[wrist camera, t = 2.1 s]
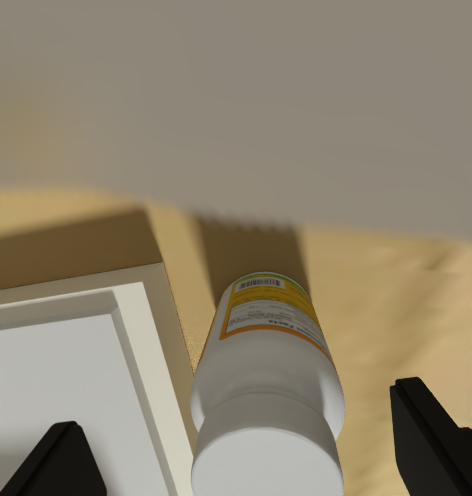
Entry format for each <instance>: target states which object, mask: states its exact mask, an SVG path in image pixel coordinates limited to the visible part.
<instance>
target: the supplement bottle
mask: <svg viewBox="0 0 472 496" xmlns="http://www.w3.org/2000/svg"><path fill="white" fill-rule="evenodd" d="M190 407H191V414H192V419H193V421H194V424H195V427H196V429H197V431H198V438H197V444H196V449H195V454H194V458H193V463H192V468H191V487H192V491H193V494H194V496H343V492H344V482H343V475H342V470H341V466H340V461H339V457H338V453H337V448H336V443H335V441H336V439H337V438H338V436H339V433H340V431H341V428H342V426H343V422H344V416H345V400H344V394H343V390H342V386H341V383H340V380H339V377H338V374H337V371H336V368H335V365H334V363H333V360H332V357H331V355H330V352H329V349H328V346H327V344H326V341H325V338H324V335H323V333H322V330H321V327H320V324H319V321H318V318H317V316H316V313H315V310H314V307H313V305H312V302H311V300H310V298H309V296H308V295H307V293H306V292H305V291H304V289H303V288H302V287H301V286H300V285H299V284H298V283H296V282H295V281H294V280H292V279H291V278H289V277H287V276H284V275H282V274H278V273H274V272H255V273H250V274H247V275H245V276H242V277H241V278H239V279H237V280H236V281H234V282H233V283H232V284H231V285H230V286H229V287H228V288H227V289H226V290H225V292H224V293H223V295H222V297H221V299H220V301H219V303H218V306H217V309H216V312H215V315H214V318H213V321H212V324H211V327H210V330H209V333H208V336H207V339H206V342H205V345H204V348H203V351H202V354H201V357H200V360H199V362H198V366H197V369H196V372H195V375H194V379H193V383H192V388H191V395H190Z"/></svg>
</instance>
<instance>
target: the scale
mask: <svg viewBox="0 0 472 496" xmlns="http://www.w3.org/2000/svg"><path fill="white" fill-rule="evenodd" d="M193 379H194V375H193V371H192V367H191V364H190V360H189V356H188V352H187V349H186V345H185V341H184V337H183V334H182V330H181V326H180V322H179V319H178V315H177V311H176V307H175V304H174V300H173V296H172V292H171V289H170V285H169V281H168V277H167V274H166V270H165V266H164V262H161V263H155V264H149V265H144V266H138V267H132V268H126V269H120V270H114V271H108V272H103V273H97V274H91V275H85V276H79V277H73V278H67V279H62V280H56V281H50V282H44V283H38V284H32V285H27V286H21V287H15V288H9V289H3V290H0V491H1V490H2V489H3V487H4V486H5V485H6V484H7V482H8V481H9V480H10V478H11V477H12V476H13V475H14V473H15V472H16V471H17V469H18V468H19V467H20V465H21V464H22V463H23V462H24V460H25V459H26V458H27V456H28V455H29V454H30V453H31V451H32V450H33V449H34V447H35V446H36V445H37V444H38V442H39V441H40V440H41V438H42V437H43V436H44V434H45V433H46V432H47V431H48V429H49V428H50V427H51V426H52V425H53V424H55V423H58V422H66V421H76V422H77V424H78V425H80V426H81V427H82V428H83V431H84V433H85V436H86V438H87V441H88V443H89V446H90V448H91V451H92V453H93V456H94V458H95V461H96V463H97V466H98V468H99V471H100V473H101V476H102V478H103V481H104V483H105V486H106V488H107V496H194V494H193V491H192V487H191V468H192V463H193V458H194V454H195V449H196V444H197V438H198V431H197V429H196V427H195V424H194V421H193V419H192V414H191V407H190V395H191V388H192V383H193Z"/></svg>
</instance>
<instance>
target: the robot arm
mask: <svg viewBox="0 0 472 496" xmlns="http://www.w3.org/2000/svg"><path fill="white" fill-rule="evenodd" d="M390 398H391V410H392V422H393V433H394V445H395V457H396V463H397V467H398V470H399V473H400V475H401V477H402V479H403V481H404V483H405V486H406V488H407V490H408V492H409V494H410V496H472V429H470V428H469V427H463V428H459V427H458V426H457V425H456V423H455V422H454V421H453V420H452V418H451V417H450V416H449V415H448V413H447V412H446V411H445V409H444V408H443V407H442V406H441V404H440V403H439V402H438V400H437V399H436V398H435V397H434V395H433V394H432V393H431V392H430V390H429V389H428V388H427V386H426V385H425V384H424V383H423V381H422V380H421V379H420V378H419V377H411V378H403V379H397V380H396V381H395V385H394V386H390ZM0 496H107V488H106V486H105V483H104V481H103V478H102V476H101V473H100V471H99V468H98V466H97V463H96V461H95V458H94V456H93V453H92V451H91V448H90V446H89V443H88V441H87V438H86V436H85V433H84V431H83V428H82V427H81V426H80V425H78V424H77V422H76V421H66V422H58V423H55V424H53V425H52V426H51V427H50V428H49V429H48V431H47V432H46V433H45V434H44V436H43V437H42V438H41V440H40V441H39V442H38V444H37V445H36V446H35V447H34V449H33V450H32V451H31V453H30V454H29V455H28V456H27V458H26V459H25V460H24V462H23V463H22V464H21V465H20V467H19V468H18V469H17V471H16V472H15V473H14V475H13V476H12V477H11V478H10V480H9V481H8V482H7V484H6V485H5V486H4V487H3V489H2V490H1V491H0Z"/></svg>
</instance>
